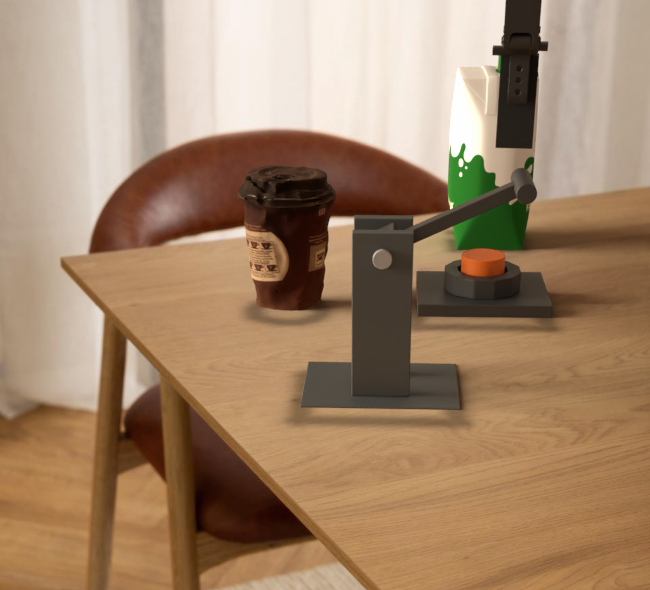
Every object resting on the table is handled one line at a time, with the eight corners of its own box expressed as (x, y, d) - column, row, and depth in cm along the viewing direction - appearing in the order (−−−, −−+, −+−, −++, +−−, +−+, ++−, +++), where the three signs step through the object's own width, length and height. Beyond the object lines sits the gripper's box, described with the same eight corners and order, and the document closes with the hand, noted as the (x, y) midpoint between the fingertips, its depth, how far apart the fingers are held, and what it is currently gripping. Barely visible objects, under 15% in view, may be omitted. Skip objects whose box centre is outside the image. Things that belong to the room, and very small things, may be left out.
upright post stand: (455, 377, 96) (463, 208, 90) (459, 423, 88) (468, 242, 82) (308, 374, 97) (305, 207, 91) (300, 420, 89) (296, 240, 83)
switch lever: (535, 188, 87) (523, 158, 86) (542, 205, 83) (530, 174, 82) (373, 260, 90) (360, 232, 89) (371, 280, 86) (357, 251, 85)
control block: (539, 293, 115) (542, 253, 113) (550, 329, 106) (554, 286, 104) (415, 292, 116) (416, 252, 114) (416, 327, 107) (418, 285, 105)
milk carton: (532, 253, 127) (547, 56, 118) (447, 252, 127) (456, 56, 118) (523, 230, 135) (536, 44, 125) (443, 230, 135) (451, 45, 126)
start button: (502, 266, 111) (503, 248, 110) (505, 279, 107) (507, 261, 106) (459, 266, 111) (460, 248, 110) (461, 279, 108) (462, 260, 107)
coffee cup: (271, 333, 106) (267, 187, 100) (225, 307, 112) (219, 169, 106) (351, 314, 110) (352, 173, 104) (303, 291, 116) (301, 157, 110)
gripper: (601, -230, 71) (566, 167, 82) (593, -217, 82) (563, 130, 93) (476, -228, 72) (458, 164, 83) (485, -215, 84) (468, 127, 95)
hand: (513, 145), depth 88 cm, fingers closed
